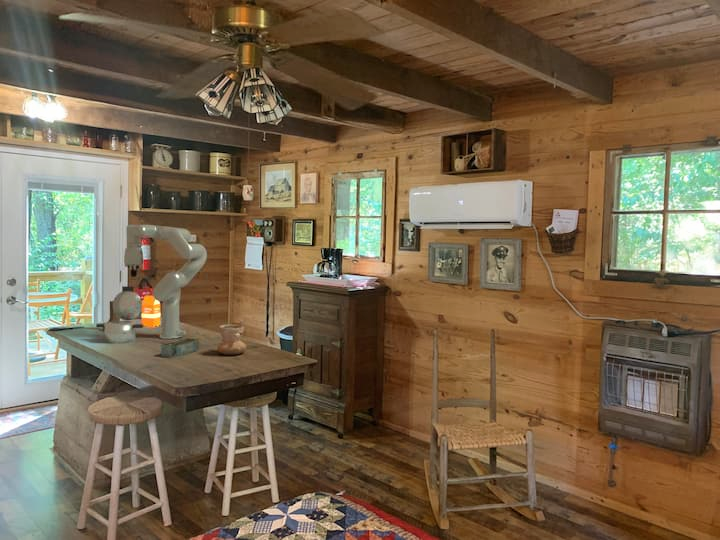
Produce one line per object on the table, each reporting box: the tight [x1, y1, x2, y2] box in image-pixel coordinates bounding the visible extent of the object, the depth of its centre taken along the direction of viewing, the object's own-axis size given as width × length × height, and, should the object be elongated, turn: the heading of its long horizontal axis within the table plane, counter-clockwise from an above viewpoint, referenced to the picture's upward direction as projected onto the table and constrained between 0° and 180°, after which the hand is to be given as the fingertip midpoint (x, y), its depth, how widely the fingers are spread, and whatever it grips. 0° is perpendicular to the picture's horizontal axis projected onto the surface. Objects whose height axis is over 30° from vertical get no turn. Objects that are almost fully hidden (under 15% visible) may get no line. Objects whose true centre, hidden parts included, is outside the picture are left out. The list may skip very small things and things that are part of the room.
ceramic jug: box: [216, 324, 247, 356], centre depth 283 cm, size 18×14×14 cm
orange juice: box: [141, 294, 161, 328], centre depth 359 cm, size 8×9×20 cm
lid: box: [112, 286, 143, 321], centre depth 321 cm, size 17×20×4 cm
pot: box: [95, 320, 145, 344], centre depth 312 cm, size 26×17×10 cm, turn 88°
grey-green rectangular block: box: [160, 337, 200, 358], centre depth 282 cm, size 8×19×7 cm, turn 152°
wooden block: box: [102, 300, 121, 332], centre depth 343 cm, size 9×4×18 cm, turn 139°
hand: (133, 276), depth 328 cm, fingers closed
